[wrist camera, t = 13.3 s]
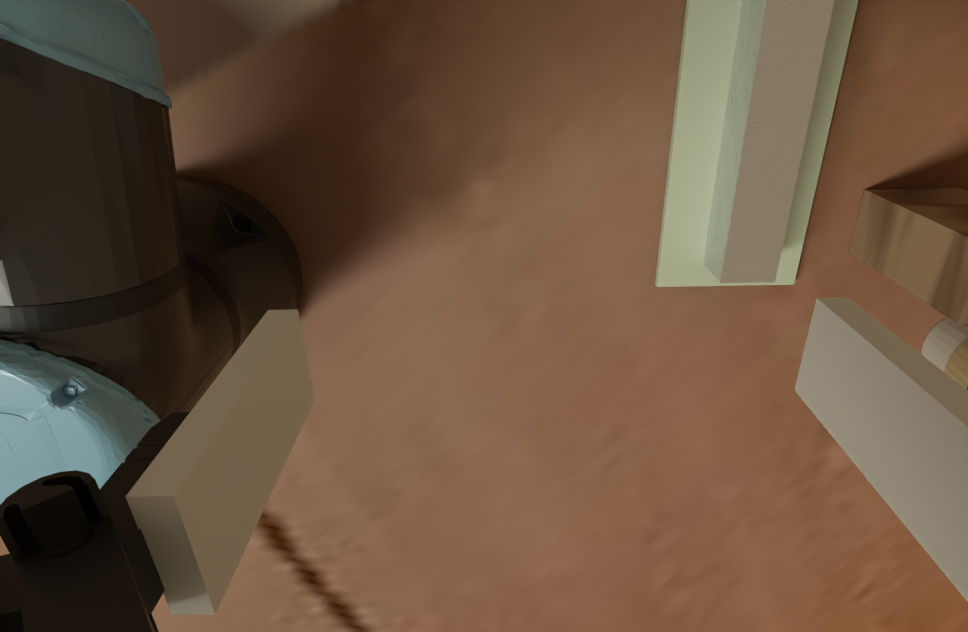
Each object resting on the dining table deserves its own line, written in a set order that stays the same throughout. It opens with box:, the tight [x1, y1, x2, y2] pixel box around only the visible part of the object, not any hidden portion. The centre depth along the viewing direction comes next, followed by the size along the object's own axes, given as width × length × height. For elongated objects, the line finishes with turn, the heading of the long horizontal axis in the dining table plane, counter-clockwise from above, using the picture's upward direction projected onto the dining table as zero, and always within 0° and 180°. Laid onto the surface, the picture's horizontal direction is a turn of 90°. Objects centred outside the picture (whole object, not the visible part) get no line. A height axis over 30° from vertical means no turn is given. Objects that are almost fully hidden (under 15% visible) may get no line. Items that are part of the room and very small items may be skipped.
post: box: [848, 188, 968, 324], centre depth 40 cm, size 7×5×12 cm
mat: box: [655, 0, 858, 287], centre depth 42 cm, size 11×28×1 cm, turn 1°
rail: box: [703, 0, 834, 283], centre depth 40 cm, size 24×4×4 cm, turn 1°
